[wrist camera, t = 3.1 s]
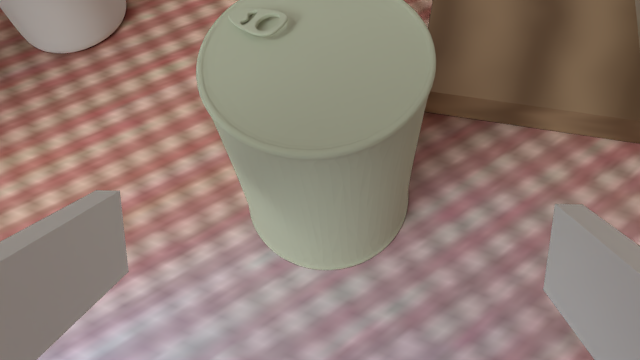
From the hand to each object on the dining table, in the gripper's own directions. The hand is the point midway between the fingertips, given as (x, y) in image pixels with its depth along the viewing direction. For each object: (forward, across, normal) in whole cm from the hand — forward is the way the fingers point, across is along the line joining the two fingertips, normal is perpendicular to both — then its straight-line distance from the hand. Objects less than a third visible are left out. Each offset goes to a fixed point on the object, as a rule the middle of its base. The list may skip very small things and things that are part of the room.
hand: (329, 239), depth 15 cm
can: (+14, -1, -3) cm, 14 cm away
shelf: (+24, +13, +8) cm, 28 cm away
